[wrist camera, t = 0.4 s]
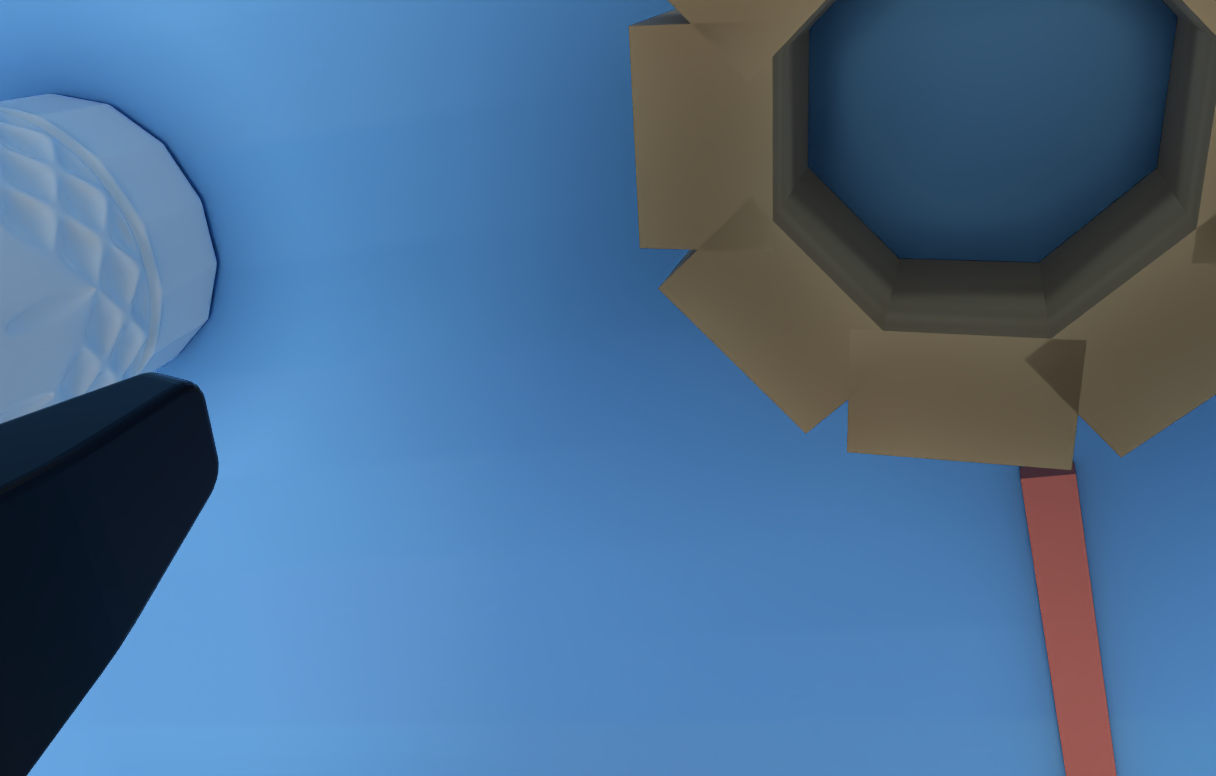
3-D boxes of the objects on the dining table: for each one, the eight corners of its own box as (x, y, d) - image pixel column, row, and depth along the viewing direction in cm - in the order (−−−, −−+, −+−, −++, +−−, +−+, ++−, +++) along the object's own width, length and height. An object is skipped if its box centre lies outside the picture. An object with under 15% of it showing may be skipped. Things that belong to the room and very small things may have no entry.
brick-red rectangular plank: (1136, 925, 25) (1138, 942, 25) (1089, 922, 26) (1091, 939, 25) (1073, 462, 21) (1076, 474, 21) (1020, 467, 22) (1020, 479, 21)
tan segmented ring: (1260, 386, 20) (1320, 490, 16) (699, 354, 23) (649, 436, 19) (1386, -278, 16) (1500, -328, 12) (683, -208, 19) (615, -232, 15)
